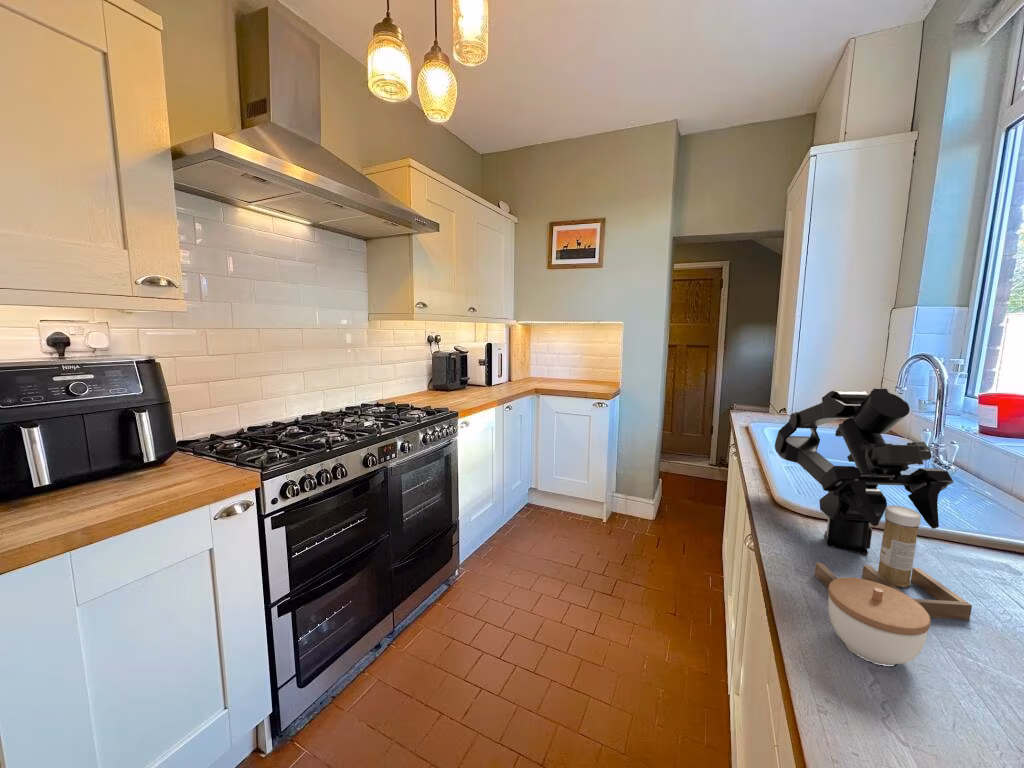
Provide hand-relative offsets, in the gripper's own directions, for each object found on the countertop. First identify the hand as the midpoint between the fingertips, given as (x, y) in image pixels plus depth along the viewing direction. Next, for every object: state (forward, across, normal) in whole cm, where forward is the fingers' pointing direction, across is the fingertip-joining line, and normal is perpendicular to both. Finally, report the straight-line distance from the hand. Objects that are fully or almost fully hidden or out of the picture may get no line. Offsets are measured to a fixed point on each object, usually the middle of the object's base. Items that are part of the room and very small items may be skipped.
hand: (905, 526), depth 71 cm
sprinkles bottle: (+7, 0, +9) cm, 12 cm away
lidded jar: (+19, -15, -3) cm, 24 cm away
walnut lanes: (+10, -4, +6) cm, 12 cm away
